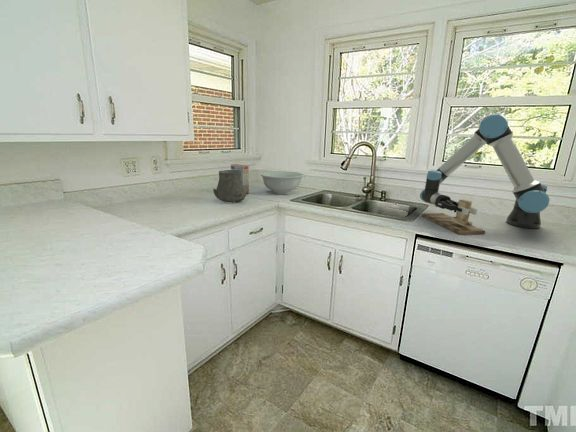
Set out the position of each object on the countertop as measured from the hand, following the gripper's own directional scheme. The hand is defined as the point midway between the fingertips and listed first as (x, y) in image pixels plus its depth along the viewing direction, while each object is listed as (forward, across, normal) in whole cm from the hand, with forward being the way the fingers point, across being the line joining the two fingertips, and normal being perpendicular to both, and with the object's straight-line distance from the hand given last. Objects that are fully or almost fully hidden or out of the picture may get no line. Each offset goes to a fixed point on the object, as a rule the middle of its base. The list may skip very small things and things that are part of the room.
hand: (471, 212), depth 143 cm
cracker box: (-96, +113, -11) cm, 149 cm away
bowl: (-97, +81, -11) cm, 127 cm away
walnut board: (-13, 0, -10) cm, 17 cm away
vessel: (-69, +118, -11) cm, 138 cm away
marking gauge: (-5, 0, -7) cm, 9 cm away
